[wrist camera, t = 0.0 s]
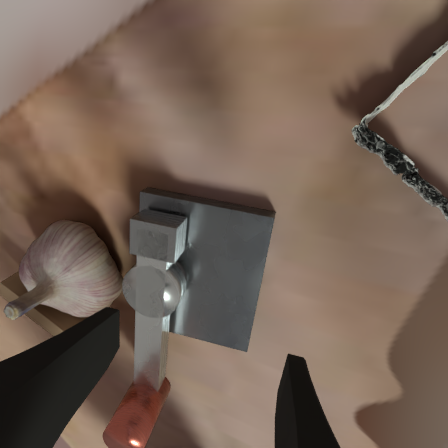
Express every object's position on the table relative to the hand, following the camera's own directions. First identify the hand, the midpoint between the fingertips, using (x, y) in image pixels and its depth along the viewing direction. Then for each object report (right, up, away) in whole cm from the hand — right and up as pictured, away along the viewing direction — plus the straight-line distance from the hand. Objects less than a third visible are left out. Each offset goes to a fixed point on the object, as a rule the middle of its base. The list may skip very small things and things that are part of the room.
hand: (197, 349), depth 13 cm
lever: (-4, -2, +11) cm, 12 cm away
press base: (-1, +2, +10) cm, 11 cm away
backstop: (-13, -1, +15) cm, 19 cm away
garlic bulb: (-10, +2, +13) cm, 16 cm away
